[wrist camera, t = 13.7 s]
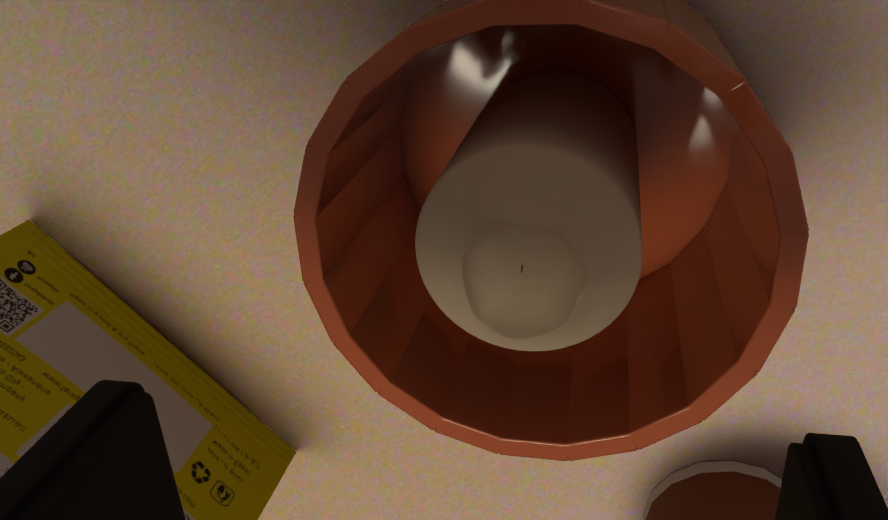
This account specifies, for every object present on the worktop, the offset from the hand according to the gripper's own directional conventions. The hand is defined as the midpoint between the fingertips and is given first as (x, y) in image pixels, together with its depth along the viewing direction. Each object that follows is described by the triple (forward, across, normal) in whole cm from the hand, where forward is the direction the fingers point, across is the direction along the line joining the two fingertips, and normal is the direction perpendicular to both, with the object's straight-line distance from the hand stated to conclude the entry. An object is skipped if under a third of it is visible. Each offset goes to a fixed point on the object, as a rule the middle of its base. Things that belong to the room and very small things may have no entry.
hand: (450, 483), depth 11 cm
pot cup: (+17, -1, +1) cm, 17 cm away
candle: (+17, 0, 0) cm, 17 cm away
